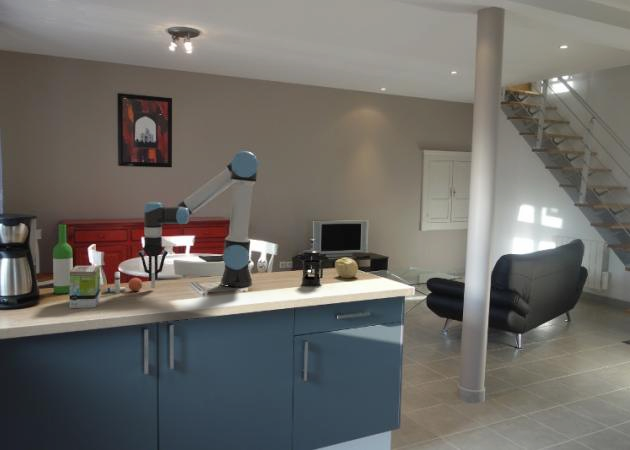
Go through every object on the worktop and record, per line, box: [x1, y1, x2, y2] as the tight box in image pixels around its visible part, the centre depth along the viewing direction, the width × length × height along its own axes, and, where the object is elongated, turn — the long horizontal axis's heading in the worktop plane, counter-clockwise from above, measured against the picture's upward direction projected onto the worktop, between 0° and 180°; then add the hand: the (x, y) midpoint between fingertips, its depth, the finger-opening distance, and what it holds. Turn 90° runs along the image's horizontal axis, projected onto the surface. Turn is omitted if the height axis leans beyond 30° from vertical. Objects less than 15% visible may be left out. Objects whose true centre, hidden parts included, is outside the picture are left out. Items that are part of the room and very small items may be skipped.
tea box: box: [68, 265, 101, 309], centre depth 209 cm, size 15×10×15 cm, turn 17°
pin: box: [114, 273, 121, 295], centre depth 229 cm, size 2×2×8 cm
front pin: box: [104, 286, 126, 293], centre depth 231 cm, size 2×2×8 cm
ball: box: [128, 277, 143, 292], centre depth 234 cm, size 6×6×6 cm
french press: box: [301, 238, 324, 287], centre depth 259 cm, size 12×9×23 cm
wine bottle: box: [52, 224, 74, 295], centre depth 227 cm, size 8×8×30 cm
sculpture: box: [334, 256, 359, 279], centre depth 281 cm, size 11×12×11 cm
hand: (153, 287), depth 237 cm, fingers closed
